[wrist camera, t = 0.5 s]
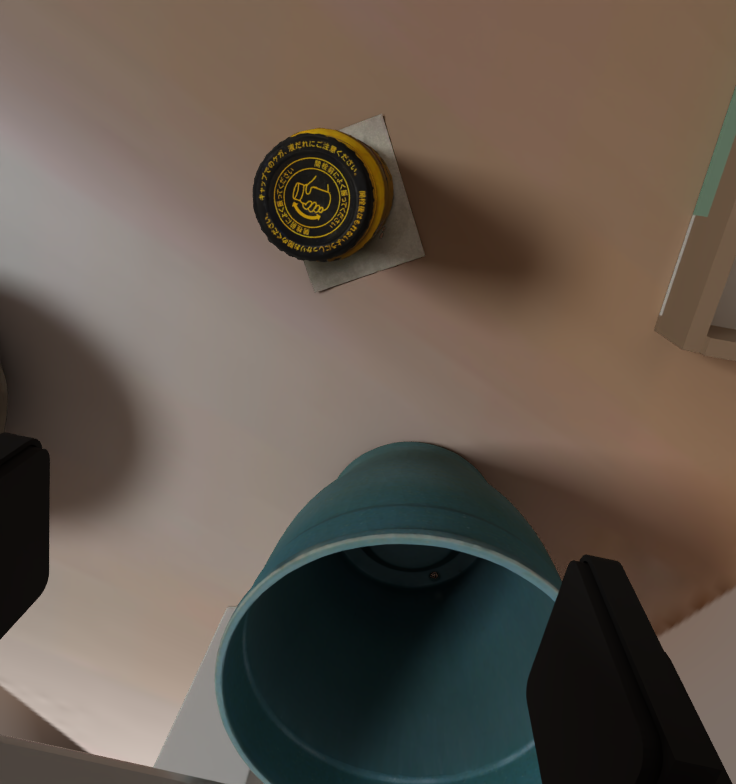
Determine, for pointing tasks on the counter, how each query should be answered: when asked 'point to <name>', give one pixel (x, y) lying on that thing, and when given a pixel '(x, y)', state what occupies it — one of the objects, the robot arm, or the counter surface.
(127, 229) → the counter surface
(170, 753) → the milk
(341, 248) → the condiment
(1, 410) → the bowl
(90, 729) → the counter surface
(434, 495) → the flower pot
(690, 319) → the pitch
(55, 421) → the counter surface
